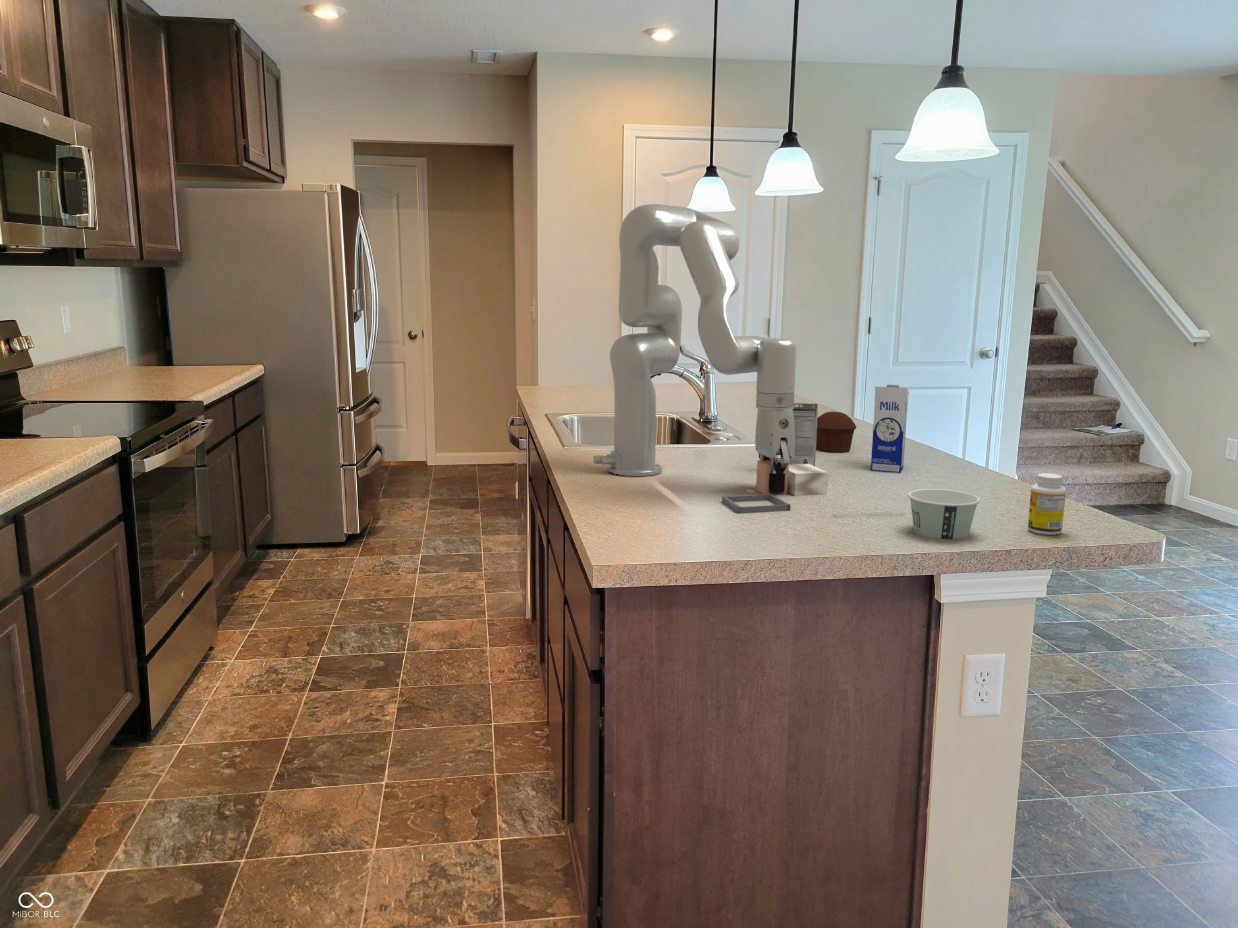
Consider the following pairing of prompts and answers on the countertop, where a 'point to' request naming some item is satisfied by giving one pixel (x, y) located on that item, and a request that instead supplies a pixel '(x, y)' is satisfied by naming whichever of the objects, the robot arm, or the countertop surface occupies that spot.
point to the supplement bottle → (1047, 505)
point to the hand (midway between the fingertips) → (771, 488)
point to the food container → (942, 512)
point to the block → (767, 476)
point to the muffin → (834, 432)
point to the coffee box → (805, 433)
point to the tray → (754, 509)
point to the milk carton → (889, 428)
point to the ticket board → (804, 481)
